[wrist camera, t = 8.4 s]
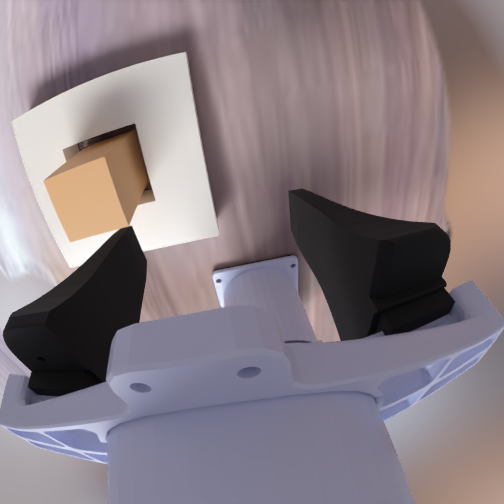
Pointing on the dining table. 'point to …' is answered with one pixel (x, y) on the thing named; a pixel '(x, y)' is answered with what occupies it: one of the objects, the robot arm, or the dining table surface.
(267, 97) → the dining table surface
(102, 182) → the peg
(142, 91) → the socket plate
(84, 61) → the dining table surface
